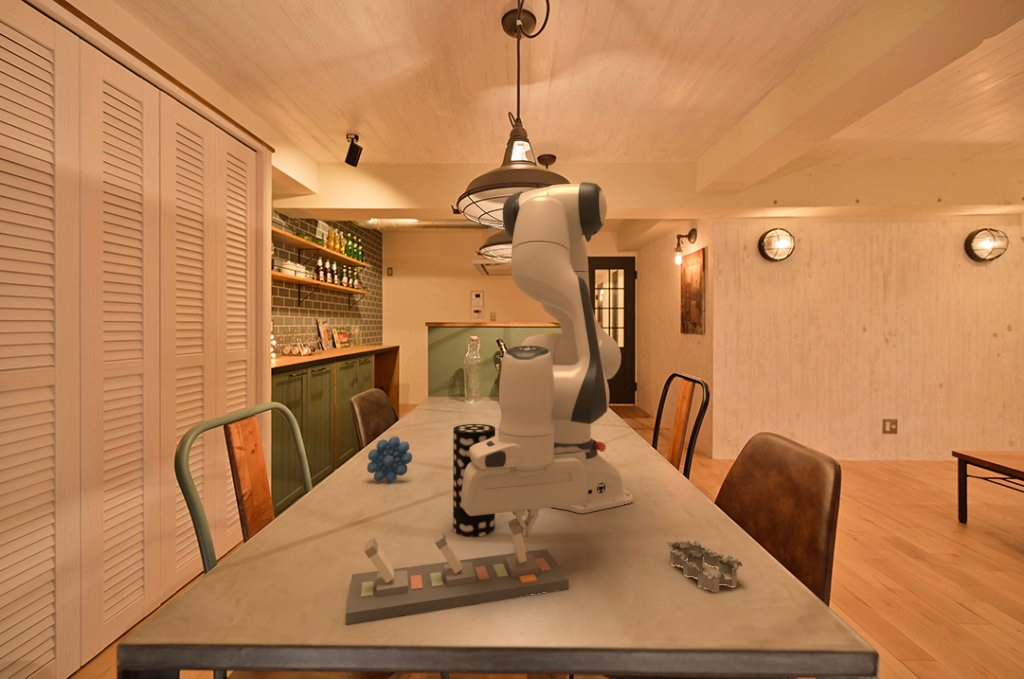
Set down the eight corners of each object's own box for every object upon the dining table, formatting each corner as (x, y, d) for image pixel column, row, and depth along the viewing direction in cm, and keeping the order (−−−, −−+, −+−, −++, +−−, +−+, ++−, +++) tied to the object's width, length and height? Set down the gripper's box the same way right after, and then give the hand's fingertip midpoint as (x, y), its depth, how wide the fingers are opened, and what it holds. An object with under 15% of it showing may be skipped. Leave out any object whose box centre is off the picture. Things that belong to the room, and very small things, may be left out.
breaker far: (394, 569, 68) (373, 537, 67) (394, 578, 65) (373, 545, 64) (385, 574, 68) (365, 543, 67) (385, 584, 65) (364, 551, 64)
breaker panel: (546, 557, 78) (546, 543, 78) (568, 589, 69) (568, 573, 69) (352, 583, 70) (352, 567, 70) (346, 624, 60) (346, 605, 60)
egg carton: (745, 590, 69) (746, 563, 69) (703, 596, 67) (704, 569, 67) (700, 555, 80) (700, 533, 80) (662, 560, 78) (663, 537, 78)
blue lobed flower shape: (415, 476, 121) (415, 432, 121) (410, 485, 114) (410, 438, 114) (371, 477, 121) (371, 432, 121) (364, 485, 114) (364, 438, 114)
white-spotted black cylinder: (462, 540, 84) (462, 434, 84) (447, 523, 92) (447, 426, 91) (501, 531, 88) (502, 430, 88) (484, 516, 96) (484, 422, 95)
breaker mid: (460, 560, 70) (441, 530, 70) (462, 568, 68) (443, 537, 67) (452, 565, 70) (433, 535, 69) (454, 574, 68) (435, 543, 67)
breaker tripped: (522, 553, 73) (516, 518, 73) (527, 561, 71) (520, 525, 70) (514, 555, 73) (508, 521, 72) (519, 563, 70) (512, 527, 70)
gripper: (577, 440, 77) (576, 520, 77) (459, 447, 71) (458, 534, 71) (594, 449, 71) (593, 536, 71) (467, 458, 65) (466, 553, 65)
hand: (525, 535), depth 71 cm, fingers closed, pressing on breaker tripped
